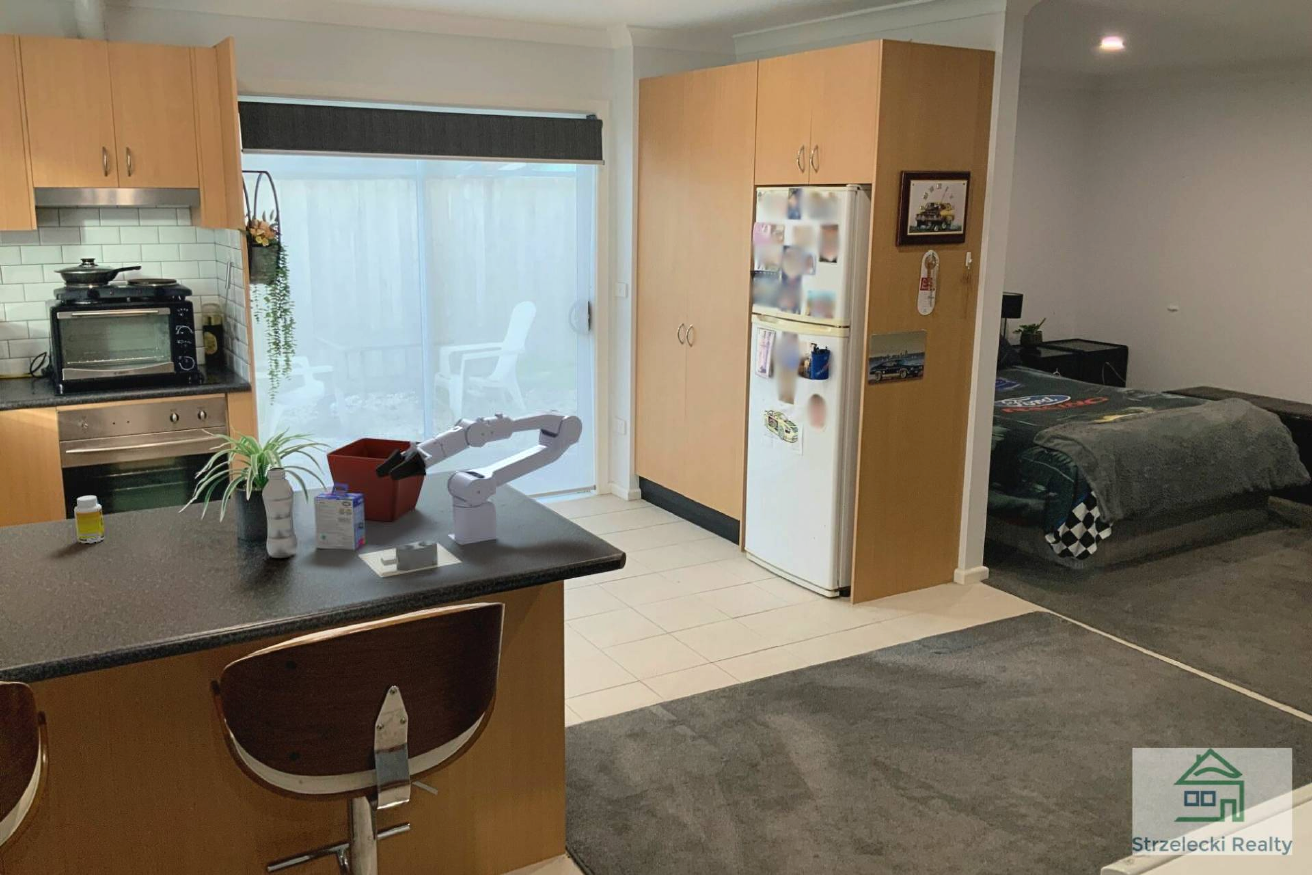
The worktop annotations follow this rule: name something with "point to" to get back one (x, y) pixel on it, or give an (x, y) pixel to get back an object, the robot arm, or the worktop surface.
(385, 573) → the mat
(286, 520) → the plastic bottle
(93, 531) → the supplement bottle
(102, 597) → the worktop surface
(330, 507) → the ink cartridge box
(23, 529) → the worktop surface
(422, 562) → the plug
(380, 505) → the plant pot
